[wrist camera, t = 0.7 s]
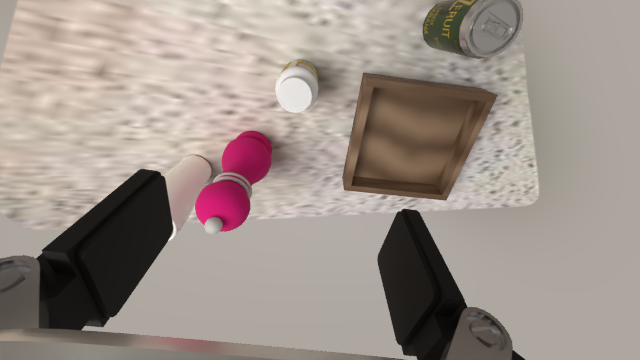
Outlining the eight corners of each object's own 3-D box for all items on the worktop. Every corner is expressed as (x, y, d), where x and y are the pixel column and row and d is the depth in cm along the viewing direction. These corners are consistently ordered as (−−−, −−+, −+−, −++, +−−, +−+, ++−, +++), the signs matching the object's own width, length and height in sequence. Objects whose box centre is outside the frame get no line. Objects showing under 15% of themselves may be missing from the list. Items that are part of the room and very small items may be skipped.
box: (363, 72, 37) (367, 78, 33) (481, 88, 38) (497, 95, 34) (342, 177, 46) (344, 190, 43) (437, 187, 47) (446, 200, 44)
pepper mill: (283, 153, 43) (260, 238, 27) (252, 173, 46) (212, 263, 29) (255, 119, 40) (208, 191, 23) (222, 142, 42) (158, 224, 26)
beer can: (471, 9, 32) (539, 5, 22) (447, 53, 35) (498, 67, 25) (434, -7, 32) (488, -19, 21) (413, 40, 34) (452, 48, 24)
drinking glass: (171, 169, 45) (113, 227, 33) (187, 142, 42) (130, 194, 30) (206, 189, 47) (165, 251, 35) (223, 164, 45) (185, 222, 32)
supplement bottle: (287, 101, 39) (278, 122, 31) (277, 63, 36) (265, 76, 28) (321, 94, 38) (322, 114, 30) (314, 55, 35) (313, 66, 27)
